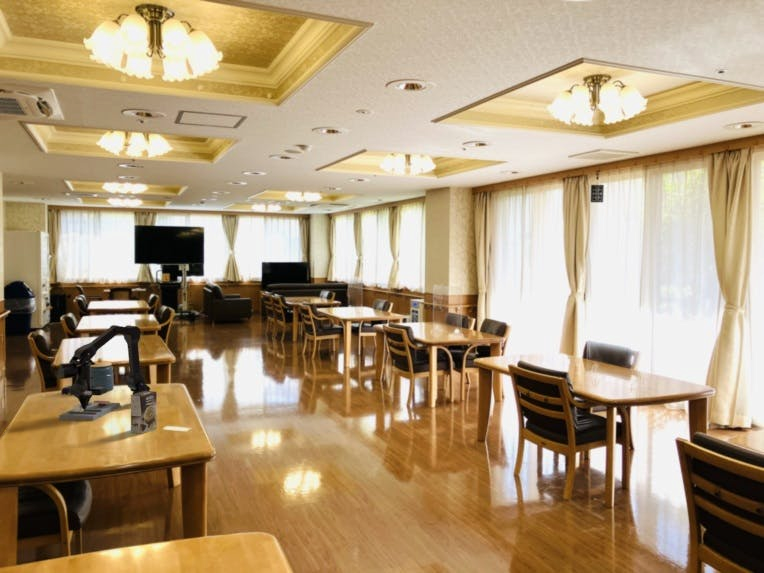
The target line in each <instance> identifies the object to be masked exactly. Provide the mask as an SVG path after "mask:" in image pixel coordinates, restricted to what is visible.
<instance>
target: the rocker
mask: <svg viewBox="0 0 764 573" xmlns="http://www.w3.org/2000/svg"><path fill="white" fill-rule="evenodd" d="M93 402H94V403H111V401H109V400H105V401H104V400H93Z"/></svg>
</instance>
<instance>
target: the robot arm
mask: <svg viewBox="0 0 764 573" xmlns="http://www.w3.org/2000/svg"><path fill="white" fill-rule="evenodd" d="M141 331H142V330H141V328H140V327H138V326H136V325H131V324H130V325H129V324H127V325H125V326H123V325H122V326H120V325H116V324H112V325H110V326H109V328H107V329H106V330H104V332H103V333H100V335H98V336H97V337H96V338H95V339H93V340H92V341H91V342H89V343H86V344H84V345H81V346H79V347H77V348H76V349H75V351H74V353H73V356H72V357H71V359H70V360H69V362H67V363H60V364H59V367H58V369H57V375H58V378H59V380H66V379H71V378H75V377H76V378H75V379H74V383H73V384H71V385H67V386H64V387H62V389H61V392H60V394H61V395H70V396H73V397H75V398H77V399H78V401H79V402H80V403H79V404H81V406H82V408H83V409H86V407H87V405H88V403H89V402H91V401H90V400H91V398H92V397H93V396H103V395H105V394H106V393H107V392H108V391H107V389H106V388H105V387H96V388H94V389H91V388H92V387H93V385H91V379H92V376H91V365H95V363H94V362H95V361H93V360H92V359H93V357H95V356H96V355H97V352H98V351H99V349H101V348H102V347H103V346H105V345H106V344H107V343H108V342H109V341H111V340H112V339H113V338H115V337H116V336H117V335H123V339H124V341H125V343H126V344H127V353H128V365H129V374H128V375H127V376H125V381H126V382H125V385H127V387H128V388H129V389H130V391H131V392H132V395H133V394H136V393H139V392H143V391H151V387H150V386H149V385H148V384H146V381H145V376H144V375H143V373H142V370H141V364H140V363H141V362H140V352H139V342H140V340H141V336H142V335H141V333H142V332H141Z"/></svg>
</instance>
